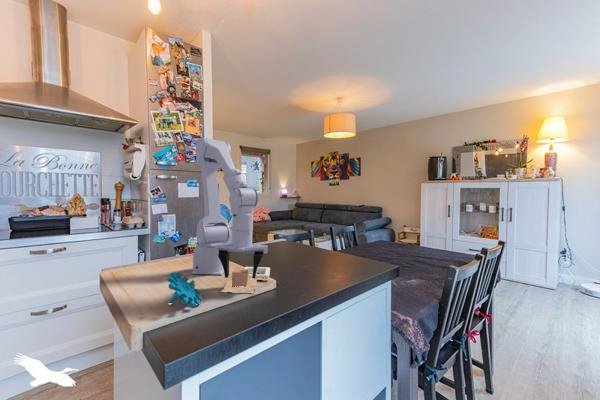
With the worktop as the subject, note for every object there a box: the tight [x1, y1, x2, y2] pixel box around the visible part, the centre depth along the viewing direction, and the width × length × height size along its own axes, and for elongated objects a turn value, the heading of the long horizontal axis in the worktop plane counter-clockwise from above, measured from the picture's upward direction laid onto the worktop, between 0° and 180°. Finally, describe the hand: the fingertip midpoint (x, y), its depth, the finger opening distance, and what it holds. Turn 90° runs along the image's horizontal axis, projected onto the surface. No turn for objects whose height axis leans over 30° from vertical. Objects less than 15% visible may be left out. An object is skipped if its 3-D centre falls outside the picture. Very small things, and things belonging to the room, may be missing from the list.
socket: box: [243, 266, 271, 279], centre depth 86 cm, size 8×8×2 cm
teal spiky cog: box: [166, 272, 203, 308], centre depth 64 cm, size 11×6×10 cm
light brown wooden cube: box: [231, 268, 250, 287], centre depth 76 cm, size 4×4×4 cm
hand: (240, 276), depth 76 cm, fingers open, 7 cm apart
